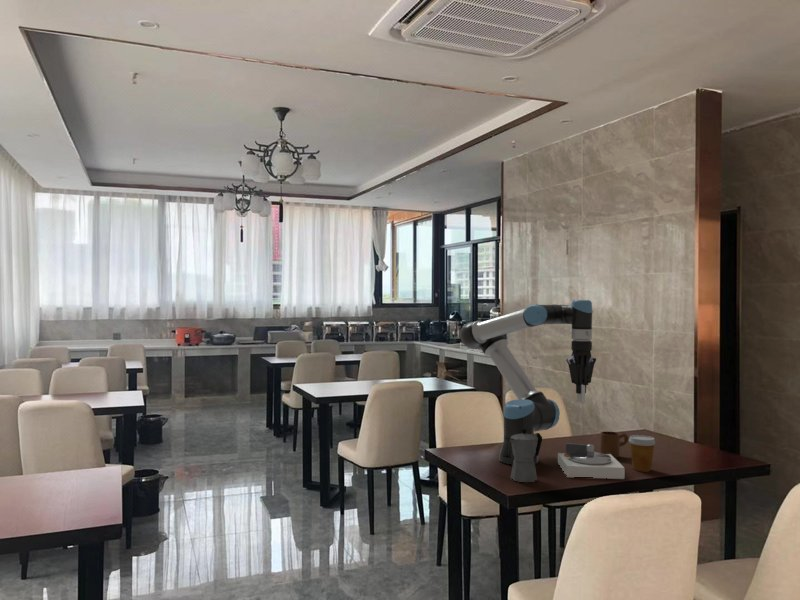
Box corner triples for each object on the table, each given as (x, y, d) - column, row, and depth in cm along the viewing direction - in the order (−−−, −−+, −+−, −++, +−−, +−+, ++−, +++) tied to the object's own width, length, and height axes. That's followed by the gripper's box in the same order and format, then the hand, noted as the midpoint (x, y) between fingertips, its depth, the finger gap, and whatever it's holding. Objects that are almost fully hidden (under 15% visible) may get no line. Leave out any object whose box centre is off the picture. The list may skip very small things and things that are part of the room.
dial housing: (567, 477, 229) (567, 462, 229) (557, 462, 249) (557, 449, 249) (624, 479, 228) (624, 464, 228) (610, 464, 247) (610, 451, 247)
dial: (610, 456, 243) (610, 442, 243) (611, 466, 229) (611, 451, 229) (567, 453, 248) (567, 439, 248) (565, 462, 234) (565, 447, 234)
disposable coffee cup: (659, 469, 241) (660, 437, 241) (648, 474, 234) (648, 441, 234) (635, 464, 247) (635, 433, 247) (623, 469, 241) (624, 437, 241)
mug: (622, 453, 266) (622, 430, 266) (633, 457, 259) (633, 434, 259) (596, 454, 263) (596, 431, 263) (606, 459, 256) (606, 435, 256)
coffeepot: (519, 485, 218) (520, 433, 218) (500, 479, 226) (501, 428, 226) (551, 479, 227) (551, 428, 227) (531, 472, 235) (532, 423, 235)
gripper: (574, 341, 239) (574, 404, 239) (601, 340, 245) (601, 402, 245) (561, 339, 246) (561, 401, 246) (588, 339, 251) (587, 399, 252)
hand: (581, 401), depth 245 cm, fingers closed
